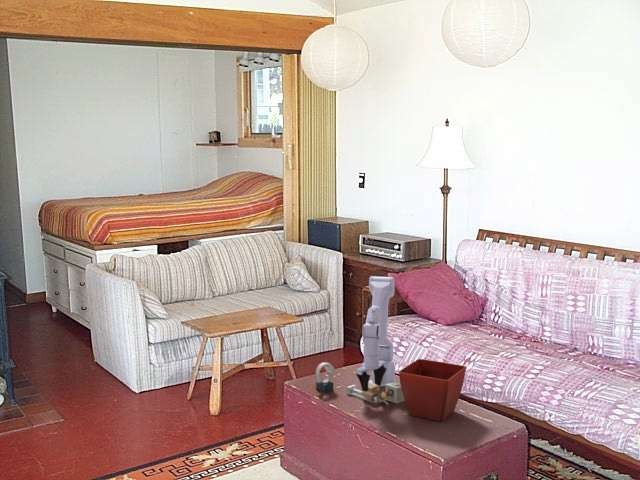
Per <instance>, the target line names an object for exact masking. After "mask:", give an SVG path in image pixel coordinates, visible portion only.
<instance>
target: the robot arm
mask: <svg viewBox="0 0 640 480" xmlns="http://www.w3.org/2000/svg"><path fill="white" fill-rule="evenodd" d="M395 284H396V280H395V278H394V276H377V275H376V276H375V275H374V276H373V275H371V276H370V277H369V280H368V289H369V291H370V294H371V296H372V300H371V306H370V307H368V309H367V315H366V319H365V324H363V325H362V328H361V329H362V331H361V334H362V342H363V362H362V365H361V366H359V367H358V368H356V373H355V374H356V377H357V378H358V380H359V383H360V388H361V391H362V390H363V391H366V392H367V391H368V383H373V384H376V385H379V386H380V388H382V387H385V384H388V383H391V382H394V381H397V380H396V374H395V373H396V371H395V370H396V368H395V367H396V366H395V362H394V361H393V360H394V355H395V354H394V353H395V351H394V342H392V341H391V340H390V339H389V338H388V322H389V320H388V319H389V317H388V316H389V302H390V298H393V297H394V296H395V287H396V285H395ZM368 372H371V374H368ZM370 378H371V379H370Z"/></svg>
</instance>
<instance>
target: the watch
mask: <svg viewBox="0 0 640 480" xmlns="http://www.w3.org/2000/svg"><path fill="white" fill-rule="evenodd" d="M333 366H334V365H332V364H331V363H329V362H325V361H324V362H320V363H319V364H318V365H317V367H316V368H315V377H316V379H317V381H316V382H315V390H317V391H319V392H322V393H325V394H326V393H329V392H333V391H334V382H332V379H333V378H334V375H335V369H336V368H335V367H333ZM322 368H324V370H325V371H326V372H327V374H328V375H327V378H326V379H323V378H322V375H321V373H320V372H321V369H322Z"/></svg>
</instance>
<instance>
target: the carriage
mask: <svg viewBox="0 0 640 480" xmlns="http://www.w3.org/2000/svg"><path fill="white" fill-rule="evenodd" d="M380 388H381V387H380V386H379V385H376V384H373V383H368V391H367V392H366V391H363V390H362V389H361V391H362V397H365V398H368V399H371V400H372V399H374V395H375V396H377V395H379V394H380V393H381V392H380V391H381V390H380Z"/></svg>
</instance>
